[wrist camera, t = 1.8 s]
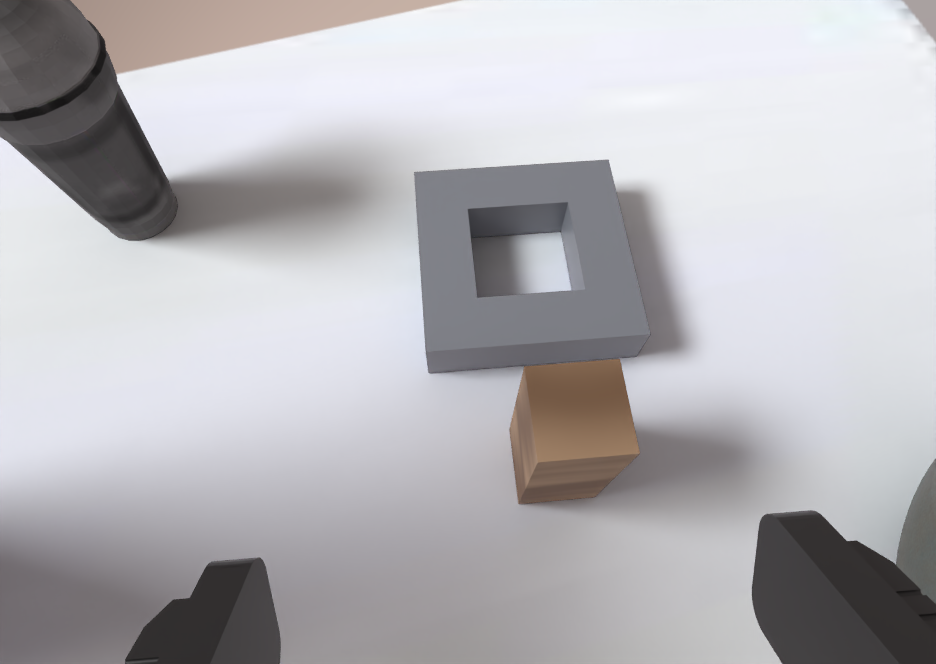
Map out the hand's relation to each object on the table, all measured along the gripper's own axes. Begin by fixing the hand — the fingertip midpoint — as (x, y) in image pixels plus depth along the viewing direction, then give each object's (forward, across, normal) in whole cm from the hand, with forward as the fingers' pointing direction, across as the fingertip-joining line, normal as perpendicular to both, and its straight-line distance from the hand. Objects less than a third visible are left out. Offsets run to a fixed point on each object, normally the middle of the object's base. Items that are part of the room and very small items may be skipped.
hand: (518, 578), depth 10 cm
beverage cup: (+33, -20, +2) cm, 39 cm away
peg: (+20, +4, -11) cm, 23 cm away
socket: (+28, +4, -2) cm, 29 cm away
